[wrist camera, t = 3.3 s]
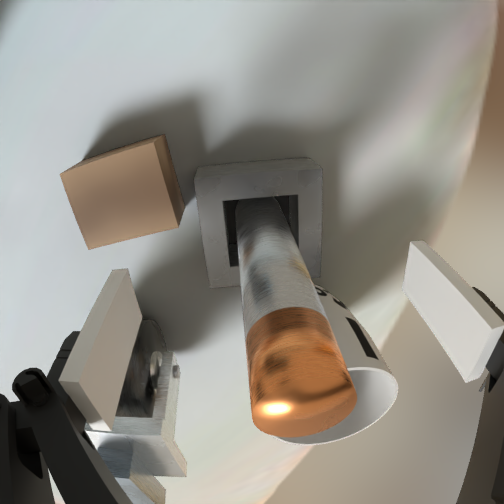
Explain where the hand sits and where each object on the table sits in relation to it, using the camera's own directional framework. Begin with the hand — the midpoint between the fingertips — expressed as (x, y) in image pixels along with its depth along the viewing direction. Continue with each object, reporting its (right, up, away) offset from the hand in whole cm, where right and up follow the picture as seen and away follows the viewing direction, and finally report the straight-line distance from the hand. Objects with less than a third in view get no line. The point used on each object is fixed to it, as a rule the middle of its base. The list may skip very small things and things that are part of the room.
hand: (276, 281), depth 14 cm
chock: (-9, +6, +6) cm, 12 cm away
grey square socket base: (-1, +4, +7) cm, 8 cm away
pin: (-1, +4, +7) cm, 8 cm away
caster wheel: (-10, -6, +11) cm, 16 cm away
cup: (+3, -3, +11) cm, 12 cm away
